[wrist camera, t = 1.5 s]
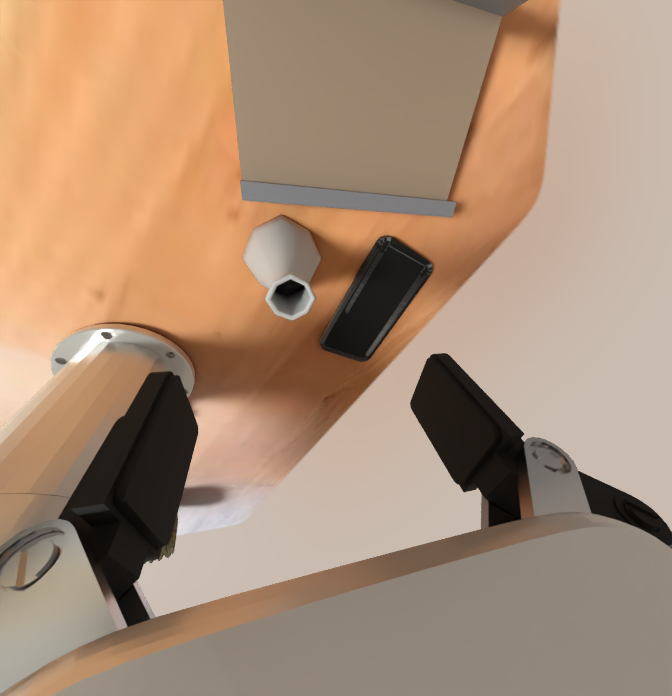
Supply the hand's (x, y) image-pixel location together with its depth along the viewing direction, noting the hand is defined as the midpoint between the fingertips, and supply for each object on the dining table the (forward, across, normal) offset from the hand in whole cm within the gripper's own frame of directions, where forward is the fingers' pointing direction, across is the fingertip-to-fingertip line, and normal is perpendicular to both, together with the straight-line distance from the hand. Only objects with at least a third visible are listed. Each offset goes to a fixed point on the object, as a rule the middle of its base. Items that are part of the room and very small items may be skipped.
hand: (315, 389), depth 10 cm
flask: (+19, 0, 0) cm, 19 cm away
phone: (+19, -10, +6) cm, 23 cm away
